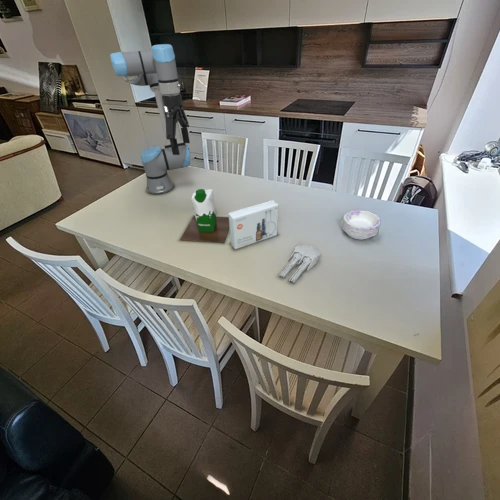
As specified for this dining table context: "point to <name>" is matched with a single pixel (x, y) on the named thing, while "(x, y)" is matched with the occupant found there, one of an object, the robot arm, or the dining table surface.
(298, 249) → the turret
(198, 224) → the soya milk
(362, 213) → the paper bowls
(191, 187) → the dining table surface
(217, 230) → the walnut board
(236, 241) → the skincare box
